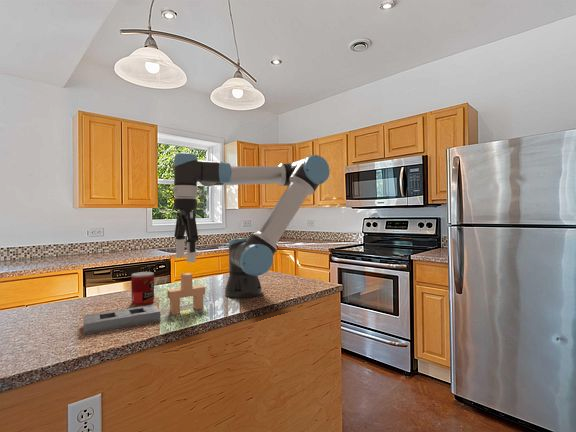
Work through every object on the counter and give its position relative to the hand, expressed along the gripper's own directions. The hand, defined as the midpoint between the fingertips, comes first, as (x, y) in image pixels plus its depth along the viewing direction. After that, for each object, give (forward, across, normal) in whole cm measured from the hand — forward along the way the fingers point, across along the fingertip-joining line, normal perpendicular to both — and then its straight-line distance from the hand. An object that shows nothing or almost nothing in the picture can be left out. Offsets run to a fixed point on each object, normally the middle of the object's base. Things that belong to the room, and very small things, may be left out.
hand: (185, 259), depth 108 cm
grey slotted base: (+18, +2, -20) cm, 26 cm away
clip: (+18, 0, 0) cm, 18 cm away
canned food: (+18, -19, -11) cm, 28 cm away
